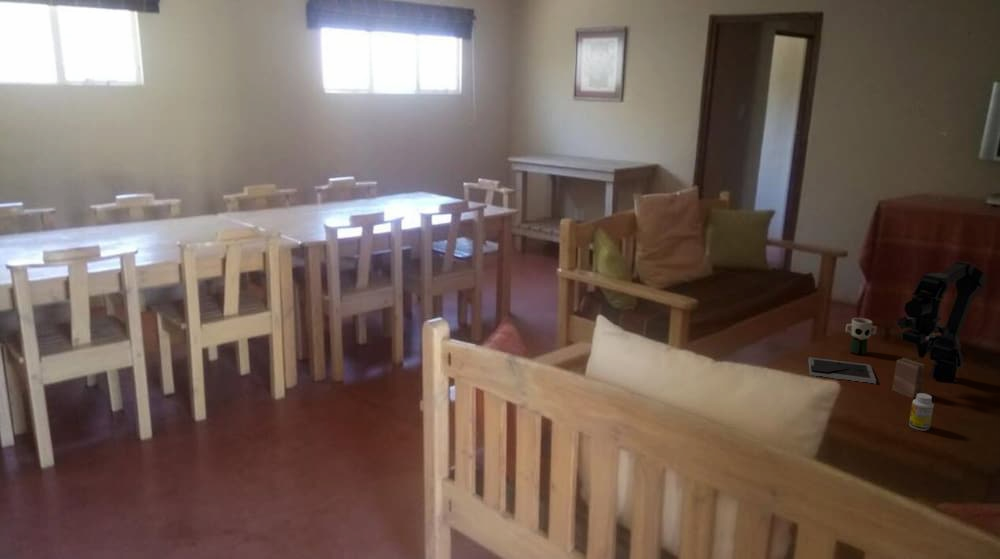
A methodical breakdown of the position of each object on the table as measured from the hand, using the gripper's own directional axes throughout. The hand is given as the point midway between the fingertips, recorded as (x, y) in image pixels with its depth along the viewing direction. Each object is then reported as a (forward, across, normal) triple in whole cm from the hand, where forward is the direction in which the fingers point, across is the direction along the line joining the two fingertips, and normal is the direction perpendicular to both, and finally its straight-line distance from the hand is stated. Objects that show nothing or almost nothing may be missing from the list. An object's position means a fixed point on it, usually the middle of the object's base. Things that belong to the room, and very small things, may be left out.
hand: (921, 357), depth 247 cm
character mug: (+12, -16, -31) cm, 37 cm away
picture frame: (+12, +8, -23) cm, 27 cm away
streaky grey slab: (+11, +6, 0) cm, 13 cm away
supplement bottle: (+12, +28, +16) cm, 35 cm away
